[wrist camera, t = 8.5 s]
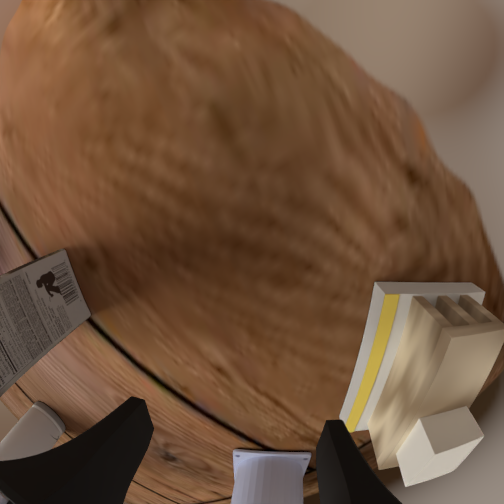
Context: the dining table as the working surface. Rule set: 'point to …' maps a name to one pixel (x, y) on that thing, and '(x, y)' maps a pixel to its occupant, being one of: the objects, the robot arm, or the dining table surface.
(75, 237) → the dining table surface
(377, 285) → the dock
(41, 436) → the travel mug
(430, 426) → the plain white block
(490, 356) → the slotted cream block
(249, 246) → the dining table surface
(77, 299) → the coffee box
